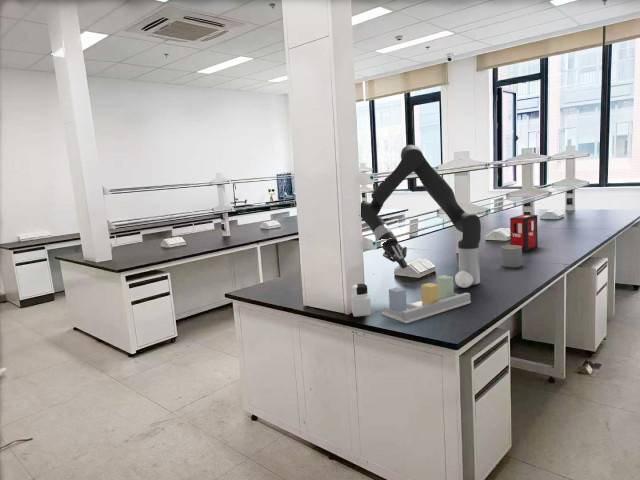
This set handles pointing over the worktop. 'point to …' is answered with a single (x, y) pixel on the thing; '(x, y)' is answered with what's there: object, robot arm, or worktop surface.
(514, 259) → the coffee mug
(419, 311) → the white divided tray
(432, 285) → the yellow rectangular block
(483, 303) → the worktop surface
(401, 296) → the blue-grey block
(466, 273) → the crumpled paper ball
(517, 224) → the cleaning product box
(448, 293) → the pale green block
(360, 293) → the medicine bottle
